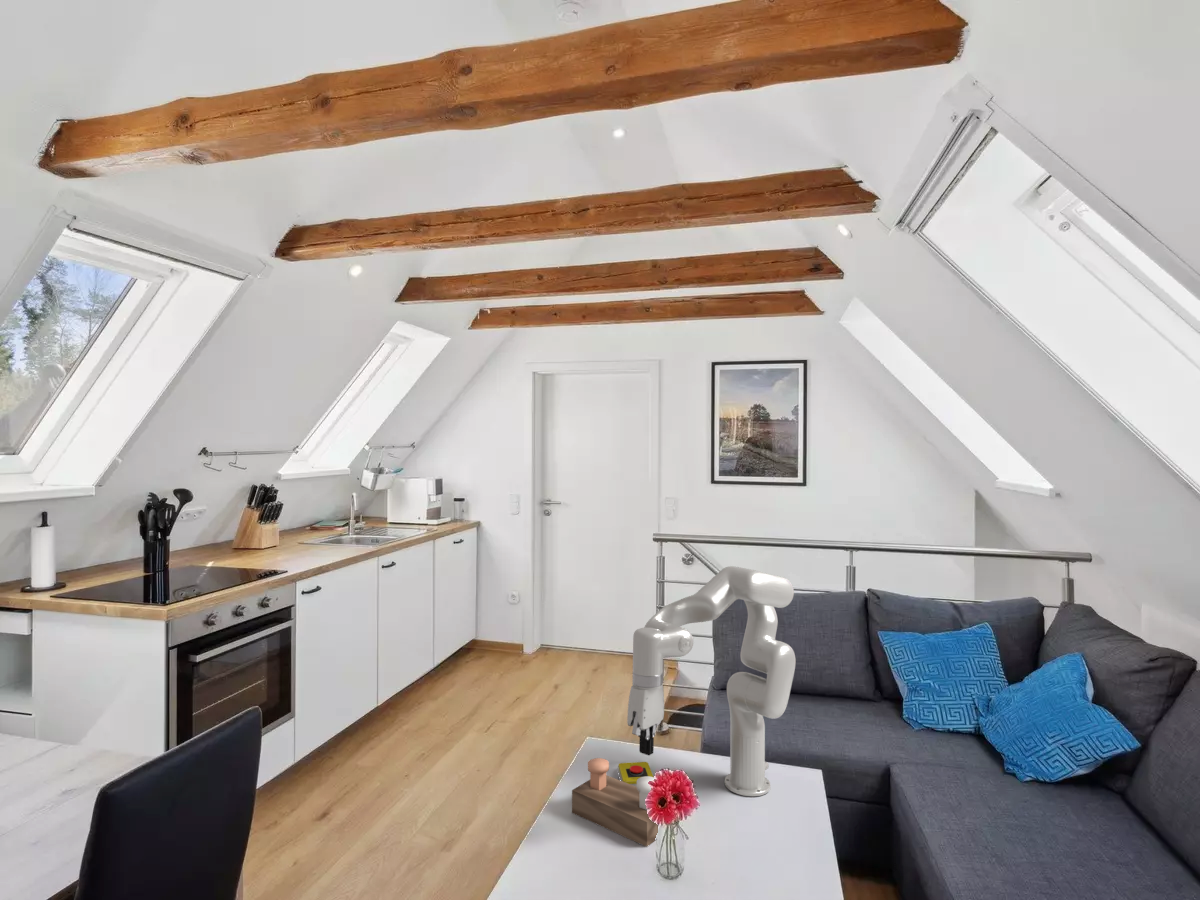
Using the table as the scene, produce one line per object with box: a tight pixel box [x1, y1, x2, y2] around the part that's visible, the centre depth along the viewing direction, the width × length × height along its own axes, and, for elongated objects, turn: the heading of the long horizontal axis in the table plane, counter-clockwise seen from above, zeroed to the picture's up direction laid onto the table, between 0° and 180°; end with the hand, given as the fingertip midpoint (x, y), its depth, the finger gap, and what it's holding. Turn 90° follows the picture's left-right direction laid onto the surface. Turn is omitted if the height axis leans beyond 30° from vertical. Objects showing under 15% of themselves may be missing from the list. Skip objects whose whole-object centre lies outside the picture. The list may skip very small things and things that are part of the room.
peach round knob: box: [587, 757, 610, 791], centre depth 179 cm, size 6×6×8 cm
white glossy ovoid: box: [637, 776, 656, 810], centre depth 169 cm, size 6×6×8 cm
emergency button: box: [617, 761, 655, 787], centre depth 195 cm, size 9×4×15 cm
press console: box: [571, 774, 658, 847], centre depth 174 cm, size 12×24×6 cm, turn 51°
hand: (646, 752), depth 169 cm, fingers closed
